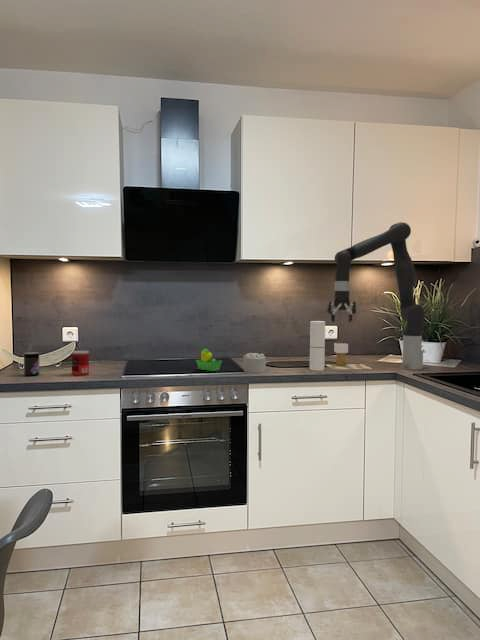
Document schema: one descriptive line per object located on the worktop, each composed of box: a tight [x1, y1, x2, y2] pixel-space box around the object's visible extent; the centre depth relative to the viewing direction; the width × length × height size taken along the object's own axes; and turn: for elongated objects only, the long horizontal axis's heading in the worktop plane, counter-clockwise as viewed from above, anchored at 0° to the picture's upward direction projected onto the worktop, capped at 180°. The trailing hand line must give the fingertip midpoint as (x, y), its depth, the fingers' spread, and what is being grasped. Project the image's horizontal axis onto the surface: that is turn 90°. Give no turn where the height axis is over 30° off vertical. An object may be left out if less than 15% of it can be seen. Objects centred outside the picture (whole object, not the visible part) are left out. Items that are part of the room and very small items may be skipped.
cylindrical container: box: [309, 320, 326, 374], centre depth 237 cm, size 7×7×25 cm
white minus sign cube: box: [333, 342, 349, 354], centre depth 249 cm, size 6×6×5 cm
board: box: [324, 363, 373, 370], centre depth 247 cm, size 20×16×2 cm
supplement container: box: [23, 351, 41, 377], centre depth 225 cm, size 7×7×10 cm
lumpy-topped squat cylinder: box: [242, 352, 266, 374], centre depth 241 cm, size 10×13×9 cm
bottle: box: [335, 352, 347, 367], centre depth 249 cm, size 5×5×10 cm
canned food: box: [71, 350, 90, 377], centre depth 227 cm, size 8×8×11 cm
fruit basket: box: [195, 348, 223, 372], centre depth 241 cm, size 11×9×11 cm
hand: (341, 321), depth 248 cm, fingers open, 8 cm apart
